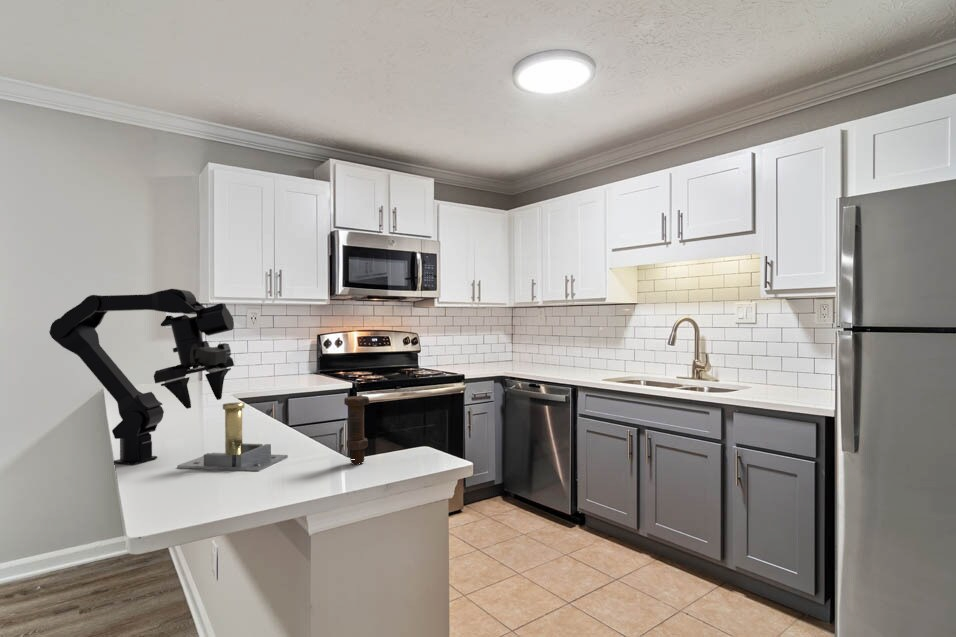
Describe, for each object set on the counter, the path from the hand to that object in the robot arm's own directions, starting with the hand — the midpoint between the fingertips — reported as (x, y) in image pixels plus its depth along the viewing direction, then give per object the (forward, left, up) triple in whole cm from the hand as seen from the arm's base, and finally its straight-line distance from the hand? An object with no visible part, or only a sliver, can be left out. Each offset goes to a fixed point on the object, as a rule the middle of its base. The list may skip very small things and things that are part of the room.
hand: (204, 403), depth 126 cm
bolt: (+37, +8, -13) cm, 41 cm away
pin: (+9, 0, -13) cm, 16 cm away
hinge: (+9, 0, -13) cm, 16 cm away
